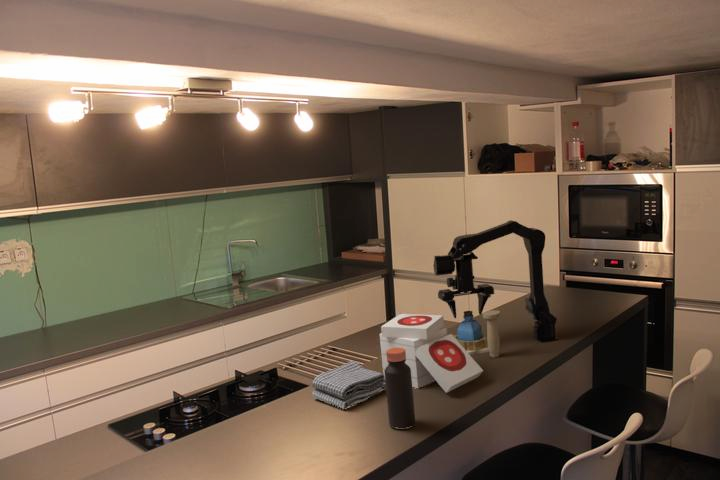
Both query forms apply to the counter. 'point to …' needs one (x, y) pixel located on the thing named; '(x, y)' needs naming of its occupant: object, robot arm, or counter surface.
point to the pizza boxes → (428, 351)
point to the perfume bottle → (469, 328)
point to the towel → (347, 385)
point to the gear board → (474, 345)
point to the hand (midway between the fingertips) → (467, 316)
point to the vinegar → (399, 389)
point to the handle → (492, 332)
